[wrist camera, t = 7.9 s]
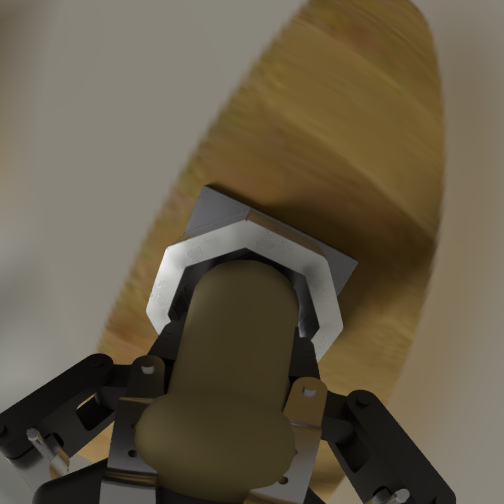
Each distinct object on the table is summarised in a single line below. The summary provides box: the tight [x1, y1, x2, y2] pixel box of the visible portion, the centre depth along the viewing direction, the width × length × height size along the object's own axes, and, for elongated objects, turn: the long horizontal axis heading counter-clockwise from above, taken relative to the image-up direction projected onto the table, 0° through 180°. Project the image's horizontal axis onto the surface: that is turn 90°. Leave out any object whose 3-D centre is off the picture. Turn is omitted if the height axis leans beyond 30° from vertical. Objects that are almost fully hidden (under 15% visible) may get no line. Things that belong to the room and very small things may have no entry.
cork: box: [133, 260, 300, 503], centre depth 10 cm, size 6×6×11 cm
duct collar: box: [146, 185, 359, 363], centre depth 15 cm, size 10×10×4 cm
